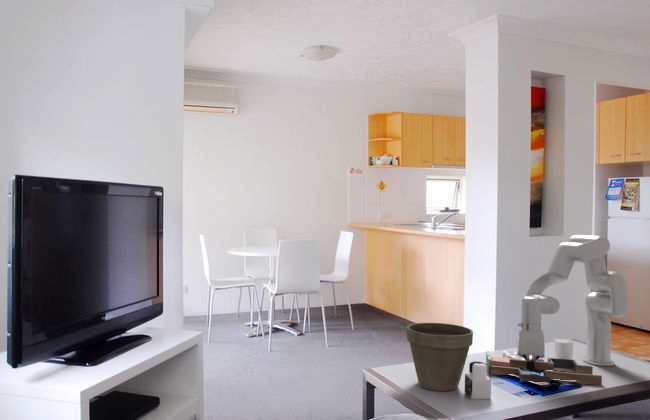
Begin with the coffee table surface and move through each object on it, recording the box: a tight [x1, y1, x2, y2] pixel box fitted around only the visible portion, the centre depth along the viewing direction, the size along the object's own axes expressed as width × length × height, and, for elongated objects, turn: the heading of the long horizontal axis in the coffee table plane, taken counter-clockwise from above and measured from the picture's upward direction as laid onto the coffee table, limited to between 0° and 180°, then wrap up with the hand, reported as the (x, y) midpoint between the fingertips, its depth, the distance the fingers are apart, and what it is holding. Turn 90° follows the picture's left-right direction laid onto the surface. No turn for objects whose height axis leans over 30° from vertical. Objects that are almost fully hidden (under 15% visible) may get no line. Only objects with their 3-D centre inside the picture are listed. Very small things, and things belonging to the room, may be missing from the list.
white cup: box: [553, 338, 574, 360], centre depth 229 cm, size 8×8×10 cm
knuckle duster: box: [502, 350, 545, 362], centre depth 229 cm, size 3×18×15 cm
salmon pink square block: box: [491, 356, 510, 367], centre depth 217 cm, size 7×7×4 cm
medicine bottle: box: [464, 360, 492, 401], centre depth 184 cm, size 7×7×12 cm
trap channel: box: [485, 350, 603, 386], centre depth 211 cm, size 30×42×6 cm
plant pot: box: [406, 322, 474, 392], centre depth 195 cm, size 25×25×22 cm
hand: (530, 370), depth 212 cm, fingers closed
